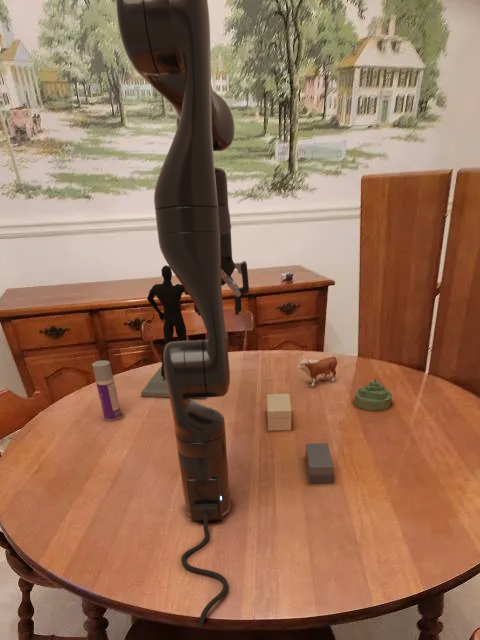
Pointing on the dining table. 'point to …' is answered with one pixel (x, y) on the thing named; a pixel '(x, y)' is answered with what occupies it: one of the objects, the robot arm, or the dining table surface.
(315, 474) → the grey stack
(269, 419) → the small cream box
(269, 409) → the beige rectangular block
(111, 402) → the container
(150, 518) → the dining table surface
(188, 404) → the robot arm
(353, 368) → the dining table surface
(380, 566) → the dining table surface
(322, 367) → the bull figurine
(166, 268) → the statue
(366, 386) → the decorative artifact
